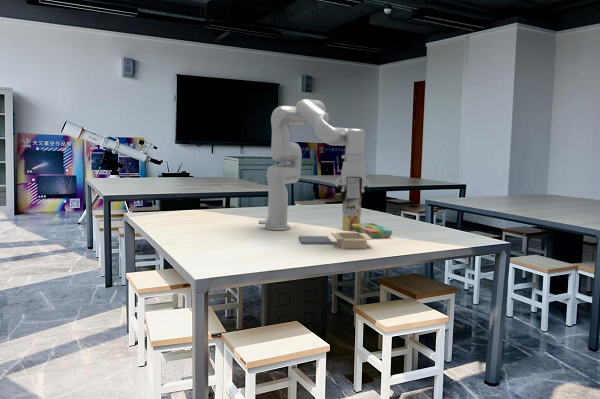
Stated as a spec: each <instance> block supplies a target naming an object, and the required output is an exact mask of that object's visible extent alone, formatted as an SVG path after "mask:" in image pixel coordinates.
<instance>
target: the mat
mask: <svg viewBox="0 0 600 399" xmlns="http://www.w3.org/2000/svg"><path fill="white" fill-rule="evenodd" d="M298 241H299V242H300V244H301V245H333V241H332V240H331V239H330V237H329V236H327V235H326V236H325V235H324V236H322V235H313V236H312V235H311V236H310V235H301V236H300V235H298Z"/></svg>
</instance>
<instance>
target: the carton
mask: <svg viewBox="0 0 600 399" xmlns="http://www.w3.org/2000/svg"><path fill="white" fill-rule="evenodd" d="M330 234H331V235H332V236H333V238H334V239H335V242H336V243H337V244H338V245H339V246H340V248H341V249H367V242H368V241H370V240H371V241H373V239H374V238H371V237H369V236H368V235H367V234H366V233H358V232H356V231H337V232H330Z"/></svg>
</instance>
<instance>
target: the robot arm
mask: <svg viewBox="0 0 600 399" xmlns="http://www.w3.org/2000/svg"><path fill="white" fill-rule="evenodd" d="M326 111H327V109H326V106H325V104H324V102H323V101H320V100H318V99H310V98H304V99H301V100H299V101H298V102H297V103H296V105H294V106H292V105H279V106H277V107H276V108H275V109H274V110H273V111H272V114H271V117H270V122H271V123H270V124H271V125H270V126H271V146H270V148H271V149H270V154H271V155H270V156H271V159H272V160H274V161H275V162H286V164H285V163H279V164H278V163H277V164H276V163H275V164H272V165H270V166H269V167H268V168H267V169H266V170H267V171H266V179H267V186H268V197H267V198H268V205H267V207H268V208H267V214H268V215H267V218H266V219H264V220H262V219H261V220H260V219H259V220H258V225H264V229H265V230H268V231H288V230H291V226H290V225H288V210H289V209H288V204H289V201H288V200H289V192H288V188H287V186H286V184H296V183H298V182H299V180H300V178H301V173H302V172H301V171H302V156H303V155H302V154H303V153H302V152H303V151H302V149H301V147H300V145H299V144H298V143H297V142H293V141H290V130H289V128H288V126H287V125H296V126H304V125H307V124H309V125H310V126H312V127H313V131H314V134H315V135H316V137H317V138H318V139H320V140H321V141H322V142H324V143H325V144H326V145H329V146H342V147H344V146H345V151H344V152H345V154H344V155H341V159H343V160H344V161H342V167H341V170H340V171H341V173H340V175H339V177H338V178H336V180H335V181H333V183H334V185H335V186H336V188H338V190H339V191H340V200H341V201H342V202H343V201H345V188H346V184H347V177H361V178H362V191H361V203H362V201H363V200H364V193H365V191H367V190H368V188H369V187H370V186H371V185H372V182H371V181H370V180H369V179H368V178H367V169H366V168H367V167H366V162H364V150H365V136H366V133H365V130H364V129H361V128H349V127H348V128H347V127H338V126H335V127H333V126H332V125H330V124H329V120H330V116H329V113H328V112H326ZM339 183H340V184H339Z"/></svg>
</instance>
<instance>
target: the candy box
mask: <svg viewBox="0 0 600 399" xmlns="http://www.w3.org/2000/svg"><path fill="white" fill-rule="evenodd" d="M361 210H362V207H361V208H360V216H346V215H345V214H344V213H343V212H342V227H341V228H342V230H344V231H354V230H355V228H353V227H352V224H361V216H362V215H361V214H362V213H361V212H362V211H361Z"/></svg>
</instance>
